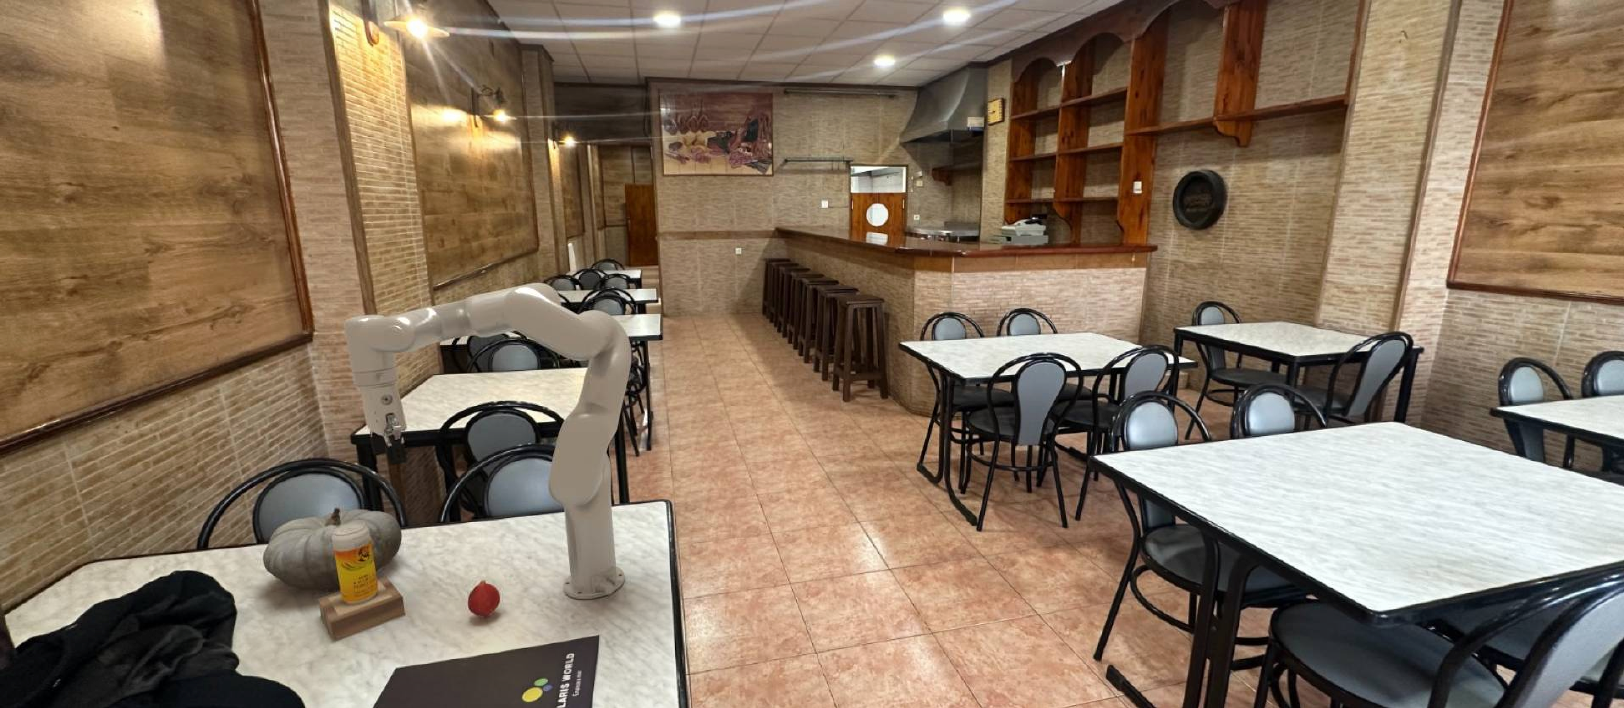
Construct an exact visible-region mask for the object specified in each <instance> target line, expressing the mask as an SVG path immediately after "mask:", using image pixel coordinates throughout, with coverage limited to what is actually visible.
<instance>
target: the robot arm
mask: <svg viewBox="0 0 1624 708" xmlns="http://www.w3.org/2000/svg"><path fill="white" fill-rule="evenodd" d="M343 329H344V336H345V341H346V346H347V353H348V357H349V363H350V369H351V374H352V378H353V385H354V388H355V389H358V390H359V389H360V395H361V401H362V407H363V413H364V414H363V415H364V418H365V419H364V420H365V423H366V426H367V428H368V429H369V435H370V442H371V443H370V444H371V448H372V453H373V456H381V455H385V454H386V458H387V460H386V461H387V465H388V466H389V467H390V466H395V465H399V464H403V463H406V462H407V461H408V458H407V452H406V451H407V450H406V445H405V439H404V436H403V435H404V434H403V433H402V432H405V431H407V427H408V425H407V421H406V418H405V412H404V408H403V404H402V403H403V402H402V399H401V395H400V391H399V389H398V385H397V384H398V383H399V382H400V377H399V372H398V367H397V362H396V361H397V359H396V354H408V353H411V352H414V351H417V350H419V349H422V348H424V347H427V346H430V345H433V344H437V343H440V342H446V341H448V340H454V339H457V338H462V337H463V338H464V337H469V336H476V337H479V338H489V337H494V336H497V335H501V334H508V333H512V332H515V331H516V332H518V333H520V334H522V335H523V336H525V337H526V338H528V339H530V340H532V341H534V342H536V343H538V344H539V345H541V346H544V347H546V348H547V349H549V350H551V351H553V352H554V353H557V354H558V355H561V356H563V357H565V358H567V359H570V360H573V361H580V362H583V361H588V365H587V369H586V371H585V374H584V378H583V383H582V388H581V391H580V395H579V398H578V401H577V404H576V405H575V407H574V408H573V409H572V411H571V412H570V413H569V414H567V416H566V417H565V419H564V421H563V423H562V425H561V427H560V428H559V429H560V430H559V432H558V436H557V440H556V444H555V448H554V452H553V455H552V461H551V465H550V468H549V472H548V473H549V474H548V478H547V479H548V480H547V489H548V492H549V495H550V496H551V498H552V500H554V502H556V504H558V505H559V506H561V507H563V508H564V524H565V535H566V543H567V555H568V562H569V563H568V564H569V573H570V575H569V576H567V578H566V579H565V580H564V582H563V590H564V593H565V594H566V595H567V596H569V597H570V598H572V599H579V600H591V599H597V598H601V597H605V596H607V595H611V594H612V593H614V592H615V591H616V590H618V589H620V587H622V585H623V584H624V583H625V578H626V577H625V572H624V570H622V569H621V568H620V567H618V566H617V560H616V548H615V537H614V535H615V534H614V525H613V524H614V522H613V508H612V496H611V495H612V492H611V491H612V490H611V489H612V488H611V486H612V485H611V483H612V482H611V481H612V480H611V479H612V478H611V477H612V470H611V462H610V461H611V460H610V458H609V456H608V453H607V450H608V447H609V444H610V442H611V440H612V439H613V437H614V435H615V434H616V433H617V430H618V426H619V420H620V415H621V411H622V406H623V403H624V399H625V395H626V388H627V384H628V381H629V375H630V371H631V366H632V348H631V343H630V339H629V336H628V334H627V332H626V330H625V328H624V327H623V326H622V325H621V323H620V322H619V321H617V319H615V317H613V316H611V315H610V314H609V313H607V312H604V311H603V310H597V309H595V310H594V309H592V310H587V311H583V312H581V313H579V314H577V313H575V312H574V311H571V310H570V309H568V308H566V307H564V306H563V305H562V303H561V298H560V295H559V293H558V292H557V290H555V288H554V287H552V286H551V285H549V284H546V283H543V282H532V283H527V284H523V285H518V286H513V287H509V288H505V289H499V290H498V289H497V290H493V291H490V292H489V291H488V292H484V293H479V294H475V295H471V296H468V297H466V298H465V299H462V300H457V301H452V302H448V303H443V304H438V305H434V306H433V305H432V306H428V307H424V308H423V307H422V308H420V309H419V308H418V309H414V310H410V311H406V312H403V313H400V314H395V315H391V316H387V317H386V316H385V315H381V314H366V315H358V316H357V315H356V316H353V317H349V318H347V319H346V320H345V321H344V324H343Z"/></svg>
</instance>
